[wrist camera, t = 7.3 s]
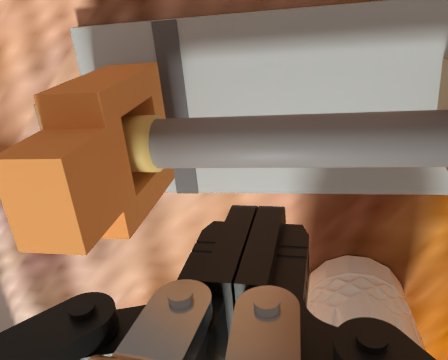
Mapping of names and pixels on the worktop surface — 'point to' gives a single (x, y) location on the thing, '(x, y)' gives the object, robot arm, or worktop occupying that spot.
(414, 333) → the white cup
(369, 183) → the pipe stand
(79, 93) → the collar
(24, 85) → the worktop surface
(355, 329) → the robot arm
